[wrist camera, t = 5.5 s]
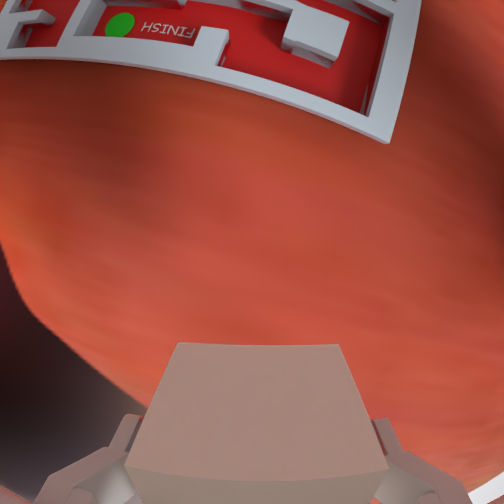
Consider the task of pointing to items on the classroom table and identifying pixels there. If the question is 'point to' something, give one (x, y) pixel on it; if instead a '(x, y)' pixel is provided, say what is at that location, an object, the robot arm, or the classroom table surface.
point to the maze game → (240, 47)
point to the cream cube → (256, 429)
